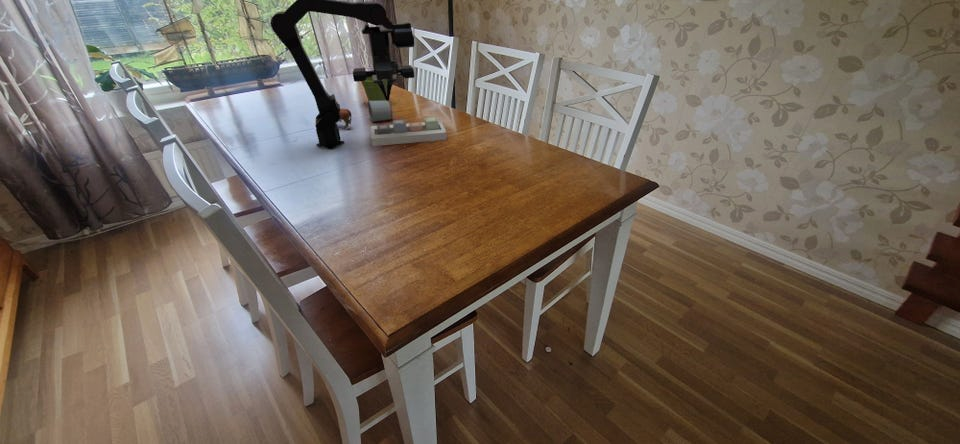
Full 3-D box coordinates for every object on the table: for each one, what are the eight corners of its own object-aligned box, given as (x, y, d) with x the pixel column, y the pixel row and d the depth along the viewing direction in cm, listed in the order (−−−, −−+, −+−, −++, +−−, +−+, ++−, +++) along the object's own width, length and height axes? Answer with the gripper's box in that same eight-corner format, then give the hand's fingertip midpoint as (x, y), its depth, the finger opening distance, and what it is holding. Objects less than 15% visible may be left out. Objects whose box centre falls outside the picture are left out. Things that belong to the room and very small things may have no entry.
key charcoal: (378, 138, 127) (377, 129, 126) (378, 133, 131) (376, 125, 129) (391, 137, 128) (390, 128, 127) (390, 132, 132) (389, 124, 130)
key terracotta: (411, 135, 130) (410, 126, 128) (409, 131, 133) (408, 122, 131) (423, 134, 131) (422, 125, 129) (421, 130, 134) (420, 121, 132)
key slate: (394, 133, 128) (393, 124, 126) (393, 128, 131) (392, 120, 129) (406, 132, 129) (405, 123, 127) (405, 127, 132) (404, 119, 130)
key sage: (426, 130, 130) (425, 121, 128) (424, 126, 134) (424, 117, 132) (438, 129, 131) (438, 120, 129) (436, 125, 134) (436, 117, 133)
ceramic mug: (394, 121, 144) (392, 101, 140) (373, 124, 141) (370, 104, 137) (388, 114, 152) (385, 94, 148) (367, 116, 149) (364, 96, 145)
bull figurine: (326, 122, 142) (321, 101, 138) (356, 127, 139) (352, 105, 134) (318, 126, 139) (313, 104, 134) (349, 131, 135) (344, 108, 131)
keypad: (372, 146, 124) (371, 138, 123) (371, 133, 134) (370, 126, 132) (446, 139, 130) (446, 132, 128) (440, 127, 139) (440, 120, 138)
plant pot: (368, 100, 167) (364, 73, 161) (394, 100, 167) (391, 74, 160) (360, 108, 157) (355, 80, 151) (388, 109, 157) (384, 81, 151)
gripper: (348, 56, 106) (358, 110, 115) (413, 52, 110) (419, 105, 119) (349, 49, 115) (358, 100, 124) (409, 46, 119) (414, 95, 128)
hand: (387, 100), depth 123 cm, fingers closed
